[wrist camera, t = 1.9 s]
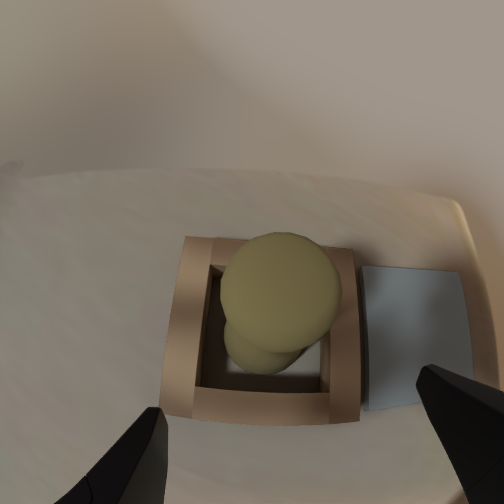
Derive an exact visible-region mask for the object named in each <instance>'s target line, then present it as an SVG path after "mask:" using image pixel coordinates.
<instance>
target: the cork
mask: <svg viewBox="0 0 504 504" xmlns="http://www.w3.org/2000/svg"><path fill="white" fill-rule="evenodd" d="M342 294H343V291H342V284H341V277H340V274H339V272H338V270H337V268H336V266H335V264H334V262H333V260H332V258H331V257H330V256H329V255H328V254H327V253H326V252H325V251H324V250H323V248H322V247H321V246H320V245H318V244H316V243H315V242H313V241H312V240H310V239H308V238H307V237H304V236H300V235H297V234H293V233H282V232H274V233H270V234H266V235H262V236H259V237H255V238H253V239H252V240H250V241H249V242H247V243H245V244H244V245H242V246H241V247H240V248H239V249H238V250H237V251H236V253H235V254H234V255H233V256H232V257H231V258H230V260H229V262H228V264H227V266H226V269H225V271H224V274H223V276H222V279H221V293H220V299H221V303H222V307H223V310H224V313H225V316H226V319H227V321H226V324H225V327H224V340H223V342H224V345H225V348H226V351H227V354H228V355H229V356H230V358H231V359H232V360H233V362H234V363H235V364H236V365H237V366H239V367H240V368H242V369H243V370H245V371H247V372H250V373H253V374H257V375H272V374H275V373H278V372H281V371H283V370H285V369H286V368H287V367H289V366H290V365H291V364H293V363H294V362H295V360H296V359H297V357H298V356H299V354H300V353H301V351H302V348H305V347H307V346H310V345H312V344H313V343H315V342H316V341H317V340H318V339H320V338H321V337H322V336H323V335H324V334H325V333H327V332H328V331H329V330H330V328H331V326H332V324H333V323H334V321H335V319H336V317H337V316H338V313H339V310H340V305H341V299H342Z"/></svg>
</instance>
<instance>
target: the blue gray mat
mask: <svg viewBox="0 0 504 504" xmlns="http://www.w3.org/2000/svg"><path fill="white" fill-rule="evenodd" d="M359 278H360V288H361V299H362V311H363V327H364V350H365V407H364V411H374V410H381V409H387V408H393V407H399V406H404V405H410V404H415V403H419V402H422V401H421V398H420V396H419V394H418V391H417V389H416V381H417V378H418V376H419V373H420V371H421V368H422V367H423V366H426V365H428V364H434V365H437V366H439V367H442V368H444V369H447V370H449V371H451V372H454V373H456V374H459V375H461V376H464V377H467V378H469V379H472V380H474V370H473V354H472V343H471V334H470V327H469V319H468V313H467V307H466V301H465V296H464V291H463V286H462V282H461V277H460V273H459V272H453V271H437V270H422V269H406V268H392V267H377V266H361V267H360V268H359Z"/></svg>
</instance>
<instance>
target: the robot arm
mask: <svg viewBox="0 0 504 504" xmlns="http://www.w3.org/2000/svg"><path fill="white" fill-rule="evenodd" d="M416 389H417V391H418V394H419V396H420V398H421V401H422V403H423V405H424V408H425V410H426V413H427V415H428V418H429V420H430V422H431V424H432V425H433V427H434V429H435V431H436V433H437V435H438V437H439V439H440V441H441V443H442V445H443V447H444V449H445V451H446V453H447V455H448V457H449V459H450V461H451V463H452V465H453V467H454V470H455V472H456V474H457V476H458V478H459V481H460V483H461V485H462V487H463V490H464V492H465V495H466V497H467V500H468V502H469V504H504V392H503V391H500V390H498V389H495V388H492V387H490V386H487V385H485V384H482V383H479V382H477V381H474V380H472V379H469V378H467V377H464V376H461V375H459V374H456V373H454V372H451V371H449V370H447V369H444V368H442V367H439V366H437V365H434V364H428V365H426V366H423V367H422V368H421V371H420V373H419V376H418V378H417V381H416ZM167 470H168V424H167V421H166V418H165V416H164V413H163V411H162V409H161V408H160V407H148V408H147V409H146V410H145V411H144V412H143V413H142V414H141V415H140V416H139V417H138V419H137V420H136V421H135V422H134V423H133V424H132V425H131V426H130V427H129V429H128V430H127V431H126V432H125V433H124V434H123V435H122V436H121V437H120V438H119V440H118V441H117V442H116V443H115V444H114V445H113V446H112V447H111V448H110V449H109V450H108V451H107V453H106V454H105V455H104V456H103V457H102V458H101V459H100V460H99V461H98V462H97V463H96V464H95V465H94V466H93V468H92V469H91V470H90V471H89V472H88V473H87V474H86V476H84V477H83V478H82V479H81V480H80V481H79V482H78V483H77V484H76V485H75V486H74V487H73V488H72V489H71V490H70V491H69V492H68V493H66V494H65V495H64V496H63V497H62V498H60V499H59V500H58V501H57V502H55V503H54V504H164V495H165V486H166V478H167Z"/></svg>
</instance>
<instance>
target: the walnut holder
mask: <svg viewBox="0 0 504 504" xmlns="http://www.w3.org/2000/svg"><path fill="white" fill-rule="evenodd" d="M247 242H249V241H247V240H234V239H220V238H206V237H191V236H185V241H184V245H183V250H182V255H181V260H180V265H179V270H178V275H177V280H176V286H175V291H174V297H173V303H172V309H171V315H170V321H169V327H168V334H167V341H166V348H165V355H164V363H163V371H162V380H161V389H160V399H159V407H160V408H161V409H162V411H163V413H164V414H167V415H172V416H178V417H184V418H190V419H197V420H205V421H213V422H222V423H233V424H247V425H271V426H300V425H323V424H337V423H348V422H357V421H360V393H361V360H360V330H359V313H358V299H357V287H356V277H355V268H354V259H353V251H352V249H346V248H334V247H323V246H321V247H322V248H323V250H324V251H325V252H326V253H327V254H328V255H329V256H330V257H331V258H332V260H333V262H334V264H335V266H336V268H337V270H338V272H339V274H340V277H341V284H342V291H343V294H342V299H341V305H340V310H339V313H338V316H337V317H336V319H335V321H334V323H333V324H332V326H331V328H330V330H329V331H328V332H327V333H325V334H324V335H323V336H322V337H321V338H320V393H266V392H248V391H234V390H223V389H214V388H205V387H200V385H201V374H202V364H203V355H204V345H205V336H206V328H207V319H208V311H209V303H210V295H211V287H212V280H213V278H217V279H222V276H223V274H224V271H225V269H226V266H227V264H228V262H229V260H230V258H231V257H232V256H233V255H234V254H235V253H236V251H237V250H238V249H239V248H240V247H241V246H242V245H244V244H245V243H247Z"/></svg>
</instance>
